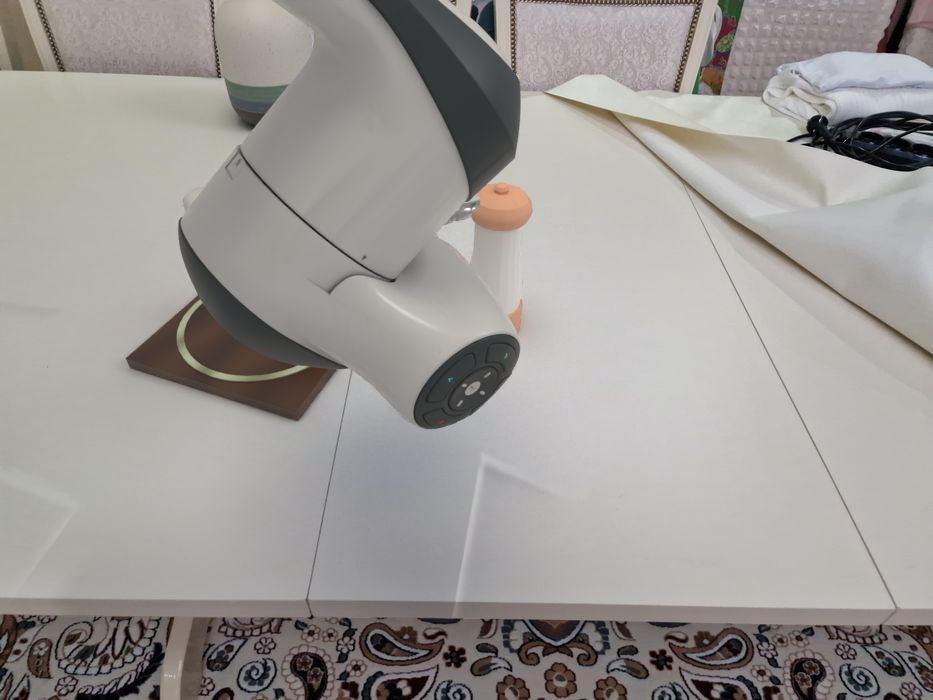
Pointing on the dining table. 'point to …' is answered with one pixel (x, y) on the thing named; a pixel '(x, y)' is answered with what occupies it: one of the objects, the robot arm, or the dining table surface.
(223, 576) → the dining table surface
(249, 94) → the vase
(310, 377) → the brown flat square board
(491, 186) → the pepper shaker
